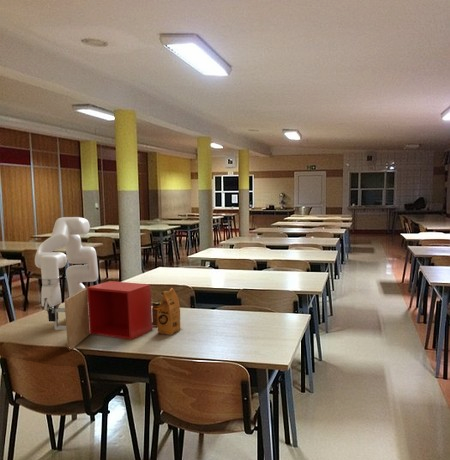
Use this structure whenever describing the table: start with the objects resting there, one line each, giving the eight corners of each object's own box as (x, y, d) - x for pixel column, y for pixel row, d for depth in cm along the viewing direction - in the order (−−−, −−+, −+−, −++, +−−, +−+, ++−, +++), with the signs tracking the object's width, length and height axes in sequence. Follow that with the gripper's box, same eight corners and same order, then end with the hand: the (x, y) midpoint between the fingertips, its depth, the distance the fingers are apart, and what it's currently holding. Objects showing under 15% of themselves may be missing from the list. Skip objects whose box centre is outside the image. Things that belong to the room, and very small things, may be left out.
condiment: (166, 324, 266) (165, 302, 264) (152, 327, 261) (151, 305, 259) (160, 321, 272) (159, 300, 270) (146, 324, 267) (145, 302, 265)
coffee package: (154, 333, 249) (152, 291, 246) (167, 327, 260) (165, 286, 257) (171, 335, 245) (169, 293, 242) (183, 329, 256) (182, 288, 253)
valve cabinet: (131, 339, 240) (129, 291, 236) (89, 333, 251) (87, 287, 248) (152, 329, 256) (150, 284, 252) (112, 324, 267) (110, 280, 264)
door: (53, 351, 225) (49, 300, 222) (75, 333, 251) (72, 288, 248) (69, 351, 225) (66, 300, 221) (89, 333, 251) (87, 287, 247)
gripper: (52, 278, 232) (55, 315, 235) (33, 285, 217) (36, 325, 220) (66, 278, 231) (69, 316, 233) (48, 285, 216) (51, 325, 218)
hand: (53, 320), depth 226 cm, fingers closed on door
